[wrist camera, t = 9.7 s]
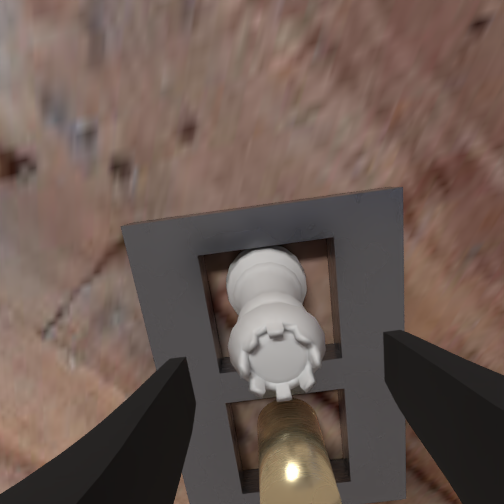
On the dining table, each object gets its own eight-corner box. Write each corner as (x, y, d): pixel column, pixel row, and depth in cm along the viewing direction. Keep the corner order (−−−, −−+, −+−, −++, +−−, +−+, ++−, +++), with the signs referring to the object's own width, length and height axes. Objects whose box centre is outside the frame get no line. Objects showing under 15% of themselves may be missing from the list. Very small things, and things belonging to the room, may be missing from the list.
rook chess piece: (299, 316, 17) (343, 430, 9) (225, 312, 17) (203, 425, 9) (307, 243, 16) (365, 301, 8) (228, 239, 15) (206, 292, 8)
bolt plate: (387, 187, 15) (455, 187, 10) (394, 475, 19) (442, 571, 15) (133, 222, 15) (78, 239, 10) (198, 498, 20) (181, 599, 15)
